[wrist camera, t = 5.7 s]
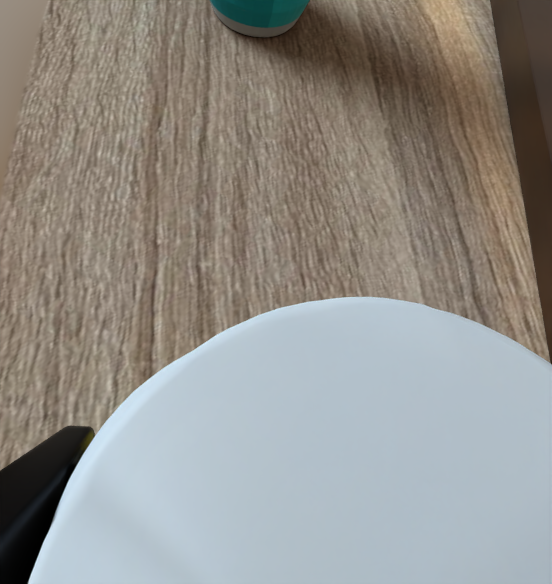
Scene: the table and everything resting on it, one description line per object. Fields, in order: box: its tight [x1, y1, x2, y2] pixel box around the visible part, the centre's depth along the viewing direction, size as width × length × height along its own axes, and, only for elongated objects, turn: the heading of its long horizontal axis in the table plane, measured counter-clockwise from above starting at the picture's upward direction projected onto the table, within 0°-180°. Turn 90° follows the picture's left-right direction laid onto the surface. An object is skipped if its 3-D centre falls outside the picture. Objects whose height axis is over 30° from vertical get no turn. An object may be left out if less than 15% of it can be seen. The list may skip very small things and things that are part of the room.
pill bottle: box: [28, 297, 552, 584], centre depth 8 cm, size 6×6×12 cm
